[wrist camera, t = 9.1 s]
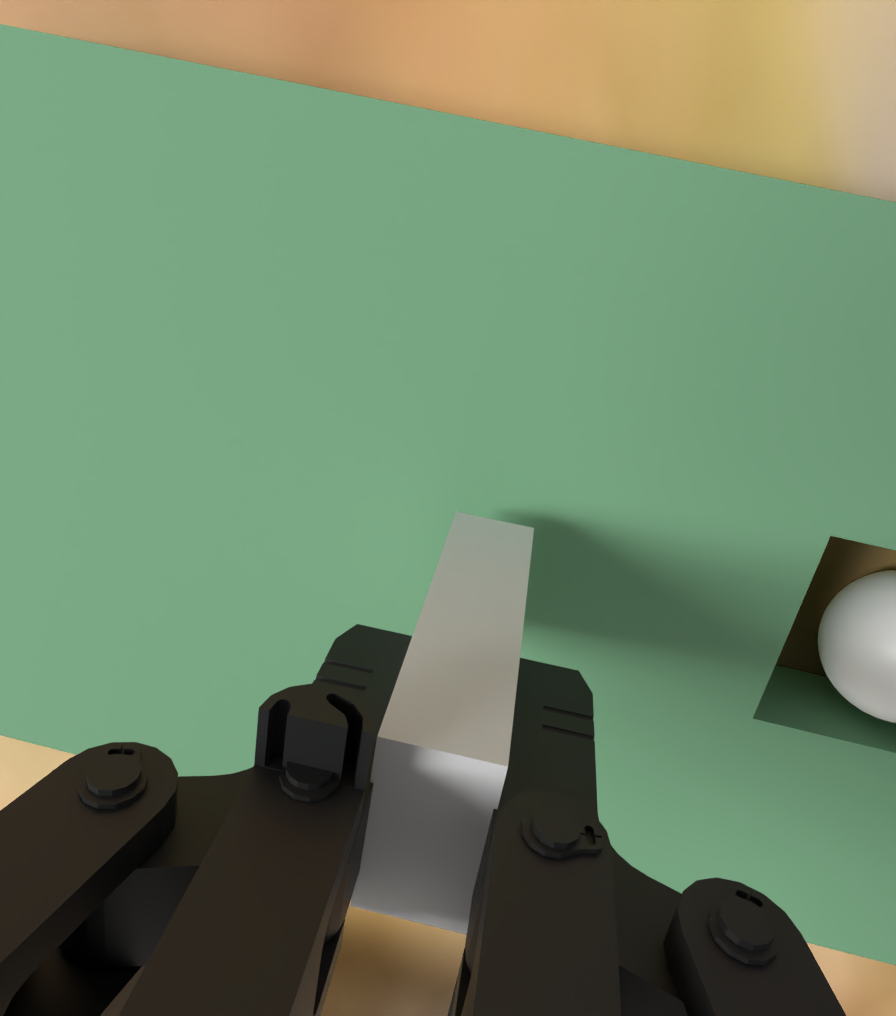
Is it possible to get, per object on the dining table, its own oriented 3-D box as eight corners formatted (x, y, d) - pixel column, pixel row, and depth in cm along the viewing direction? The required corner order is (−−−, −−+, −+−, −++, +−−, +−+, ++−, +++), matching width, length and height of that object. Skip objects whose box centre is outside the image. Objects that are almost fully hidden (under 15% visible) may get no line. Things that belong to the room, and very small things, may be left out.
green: (24, 34, 16) (-178, -20, 12) (1356, 301, 14) (1689, 351, 10) (43, 674, 22) (-83, 791, 18) (966, 906, 21) (1069, 1095, 17)
